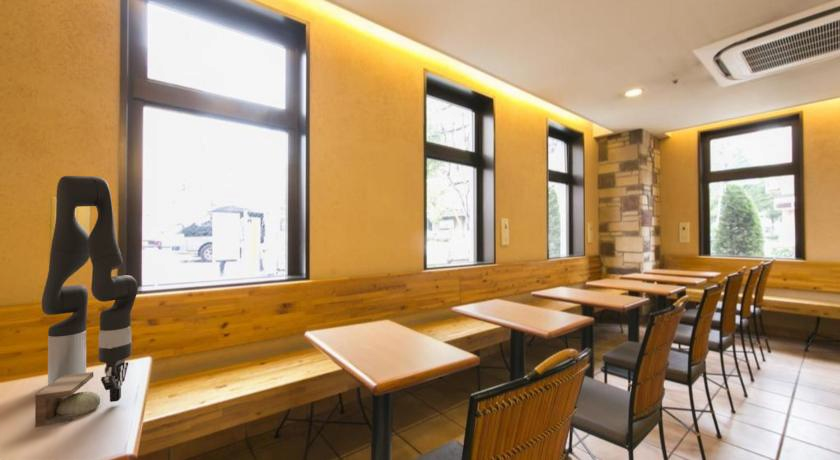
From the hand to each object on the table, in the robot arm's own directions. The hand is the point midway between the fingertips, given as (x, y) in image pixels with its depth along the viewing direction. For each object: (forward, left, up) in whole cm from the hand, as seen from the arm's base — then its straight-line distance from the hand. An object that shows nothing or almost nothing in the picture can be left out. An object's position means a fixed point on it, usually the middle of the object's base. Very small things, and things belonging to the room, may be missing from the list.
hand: (115, 400), depth 105 cm
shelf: (0, -11, -1) cm, 11 cm away
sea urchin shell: (0, -8, -2) cm, 9 cm away
